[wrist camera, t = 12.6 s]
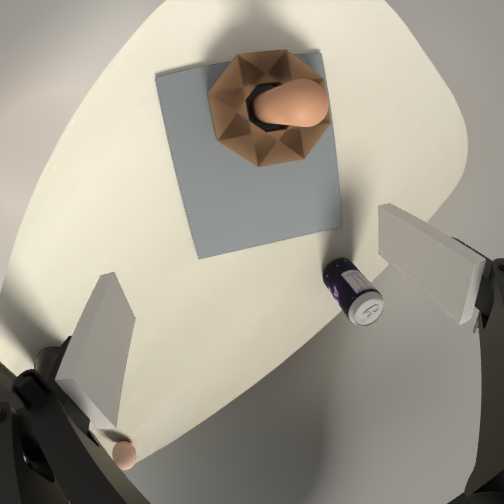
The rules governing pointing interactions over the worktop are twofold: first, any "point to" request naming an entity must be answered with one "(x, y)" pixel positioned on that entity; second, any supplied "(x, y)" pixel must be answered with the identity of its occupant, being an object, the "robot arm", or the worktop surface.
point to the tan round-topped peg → (291, 104)
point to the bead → (236, 116)
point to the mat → (243, 172)
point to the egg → (124, 455)
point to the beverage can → (353, 292)
